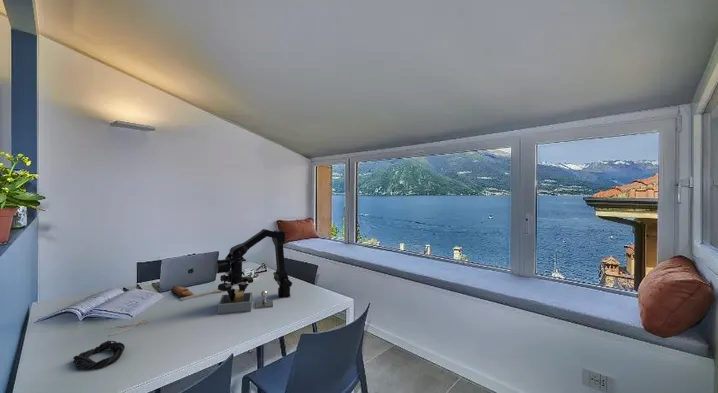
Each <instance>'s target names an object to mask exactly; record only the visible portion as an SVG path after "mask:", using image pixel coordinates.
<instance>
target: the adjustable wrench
mask: <svg viewBox="0 0 718 393" xmlns="http://www.w3.org/2000/svg"><path fill="white" fill-rule="evenodd" d="M222 293H226V291H221V290H218V288H214V289H213V290H211V291H205V292H201V293H197V294H194V295H192V296H187V297H183V298H179V299H180V301H182V302H184V301H187V300H192V299H196V298H200V297H204V296H209V295H213V294H222Z"/></svg>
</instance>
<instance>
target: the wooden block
mask: <svg viewBox="0 0 718 393" xmlns="http://www.w3.org/2000/svg"><path fill="white" fill-rule="evenodd" d="M244 293H245V291H243V290H239V288H235V292H234V299H233V301H231V299H230V297H229V302H230V303H239V302H242V301H244Z"/></svg>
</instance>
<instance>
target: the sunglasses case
mask: <svg viewBox="0 0 718 393" xmlns="http://www.w3.org/2000/svg"><path fill="white" fill-rule="evenodd" d="M170 291H171V293H173V294H175V295H176V296H177V297H178V298H179V299H180V298H183V297H187V296H192V295H195V294H194V293H193V292H192V291H191V290H189V288H187V287H183V286H178V285H173V287H171V289H170Z"/></svg>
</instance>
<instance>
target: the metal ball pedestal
mask: <svg viewBox="0 0 718 393" xmlns="http://www.w3.org/2000/svg"><path fill="white" fill-rule="evenodd" d="M268 295H269V292H268V290H265V289H264V290H262V291H261V293H260V296H261V297H262V300H256V301H255V309H265V308H266V309H267V308H273V307H274V301H273V299H267V296H268Z"/></svg>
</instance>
